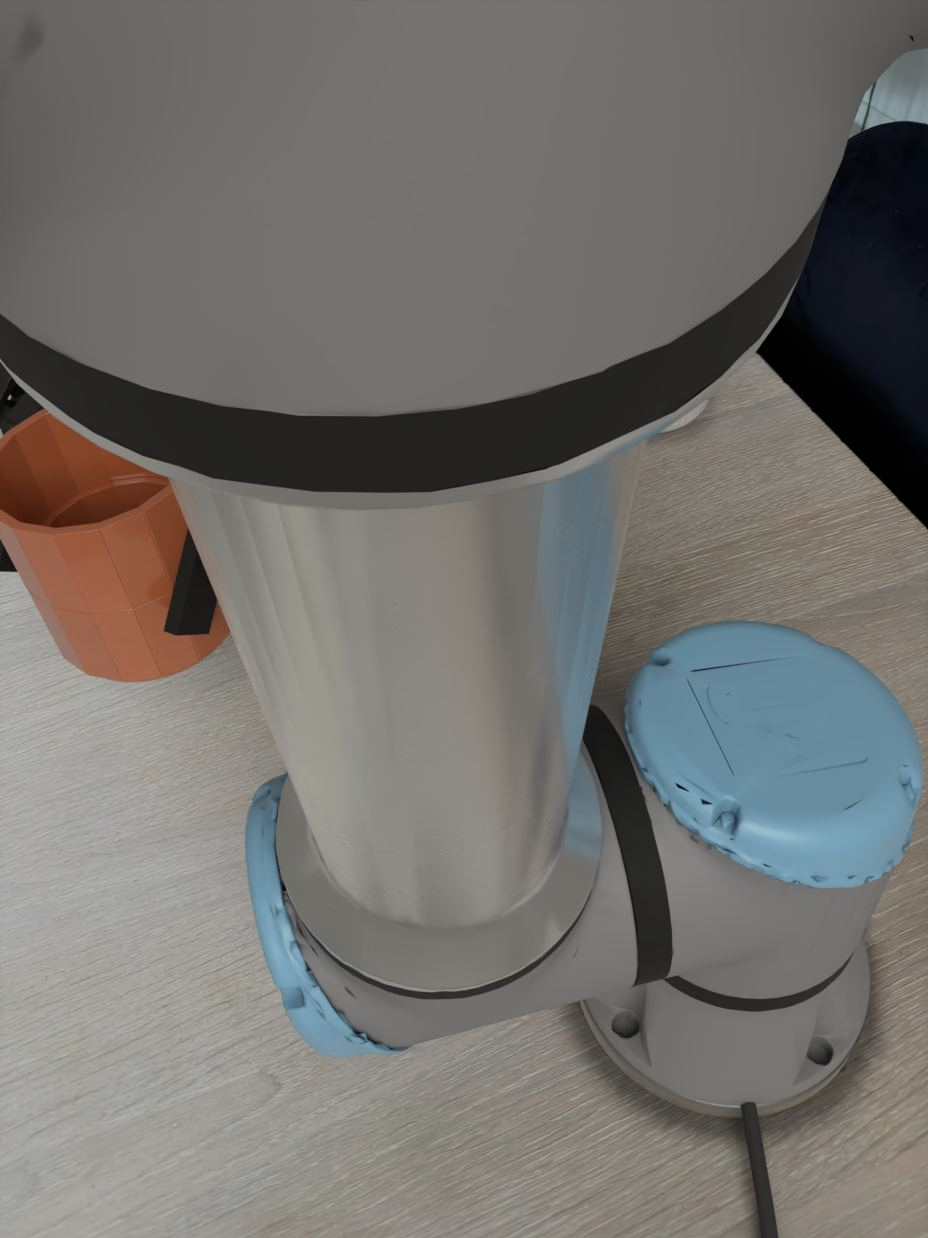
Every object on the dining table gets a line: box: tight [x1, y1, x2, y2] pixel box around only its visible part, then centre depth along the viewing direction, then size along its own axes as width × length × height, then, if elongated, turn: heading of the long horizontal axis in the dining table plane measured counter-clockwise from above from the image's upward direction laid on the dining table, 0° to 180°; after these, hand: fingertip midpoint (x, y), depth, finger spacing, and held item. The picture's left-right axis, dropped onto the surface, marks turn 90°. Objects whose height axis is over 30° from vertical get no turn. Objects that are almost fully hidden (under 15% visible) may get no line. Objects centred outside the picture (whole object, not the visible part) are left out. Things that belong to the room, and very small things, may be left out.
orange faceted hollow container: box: [0, 409, 231, 683], centre depth 55 cm, size 10×10×11 cm
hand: (96, 600), depth 55 cm, fingers closed on orange faceted hollow container, 10 cm apart
